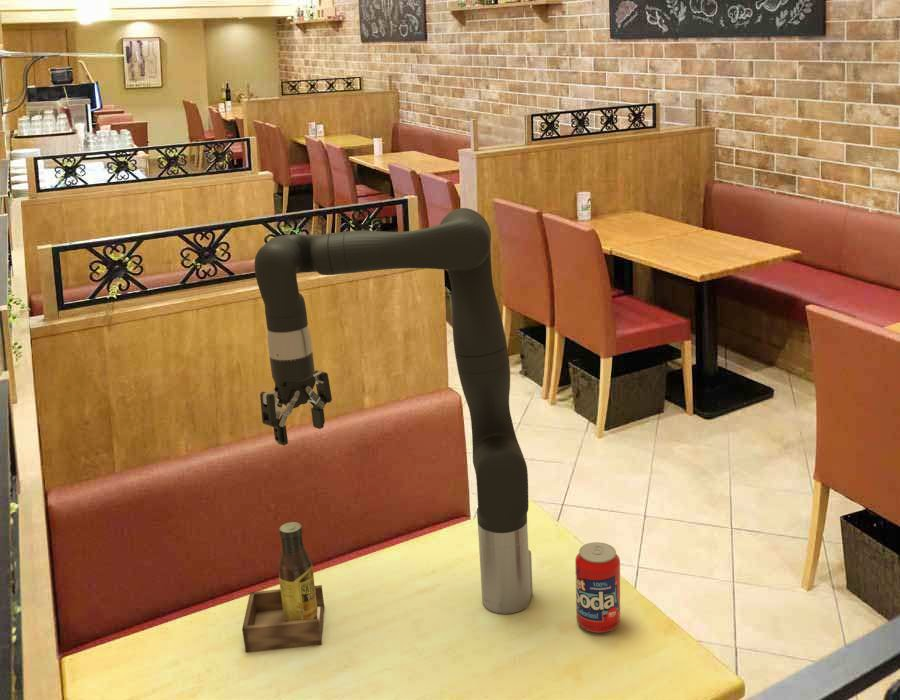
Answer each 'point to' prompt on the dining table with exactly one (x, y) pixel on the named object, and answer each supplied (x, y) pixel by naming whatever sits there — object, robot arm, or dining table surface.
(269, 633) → the box
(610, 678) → the dining table surface
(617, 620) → the soda can
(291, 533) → the sauce bottle
